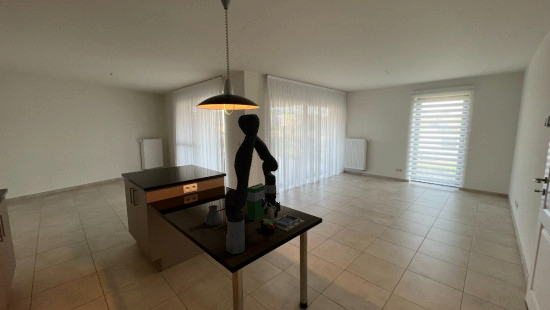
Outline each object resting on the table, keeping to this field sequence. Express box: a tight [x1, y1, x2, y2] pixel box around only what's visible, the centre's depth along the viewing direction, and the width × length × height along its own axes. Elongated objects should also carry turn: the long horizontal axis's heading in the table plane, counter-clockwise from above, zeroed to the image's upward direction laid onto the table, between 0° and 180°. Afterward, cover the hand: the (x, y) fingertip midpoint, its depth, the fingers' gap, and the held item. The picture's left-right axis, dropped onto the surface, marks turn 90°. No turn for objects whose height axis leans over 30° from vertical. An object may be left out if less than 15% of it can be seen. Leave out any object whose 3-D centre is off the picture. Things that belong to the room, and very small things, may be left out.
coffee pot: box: [204, 204, 225, 227], centre depth 148 cm, size 21×12×15 cm, turn 56°
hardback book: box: [246, 183, 270, 222], centre depth 164 cm, size 18×7×24 cm, turn 147°
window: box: [272, 214, 305, 232], centre depth 153 cm, size 20×16×3 cm
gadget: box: [259, 218, 277, 233], centre depth 142 cm, size 6×13×6 cm, turn 34°
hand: (270, 215), depth 140 cm, fingers open, 8 cm apart
